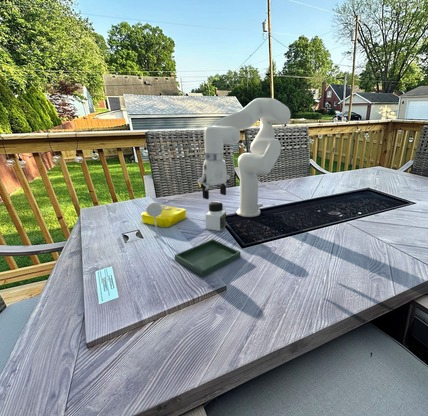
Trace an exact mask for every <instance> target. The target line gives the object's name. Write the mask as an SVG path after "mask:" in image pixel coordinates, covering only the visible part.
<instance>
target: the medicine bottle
mask: <svg viewBox="0 0 428 416" xmlns="http://www.w3.org/2000/svg"><path fill="white" fill-rule="evenodd" d="M223 205H224V203H222V202H221V201H219V200H218V201H216V200H215V201H214V200H213V201H210V202H209V203H208V212H207V213H205V215H204V217H205V219H204V220H205V230H209V231H215V232H216V231H217V232H221V231H223V229H225V228H226V226H227V211H226V210H223V209H224V207H223Z"/></svg>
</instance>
